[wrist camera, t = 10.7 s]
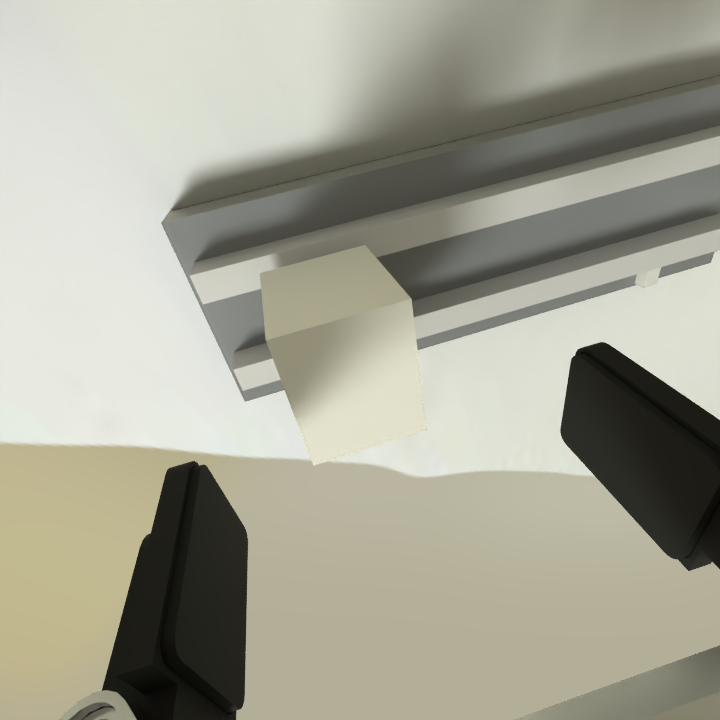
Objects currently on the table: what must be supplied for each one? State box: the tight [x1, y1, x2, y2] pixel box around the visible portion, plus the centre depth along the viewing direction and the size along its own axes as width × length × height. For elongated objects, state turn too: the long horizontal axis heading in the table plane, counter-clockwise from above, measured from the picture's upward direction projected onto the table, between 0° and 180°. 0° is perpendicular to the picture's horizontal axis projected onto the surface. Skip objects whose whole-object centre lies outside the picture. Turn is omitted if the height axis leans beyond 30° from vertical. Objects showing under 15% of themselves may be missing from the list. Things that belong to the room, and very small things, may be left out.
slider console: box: [162, 76, 720, 402], centre depth 19 cm, size 27×9×4 cm, turn 101°
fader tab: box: [260, 245, 427, 465], centre depth 15 cm, size 4×5×7 cm
